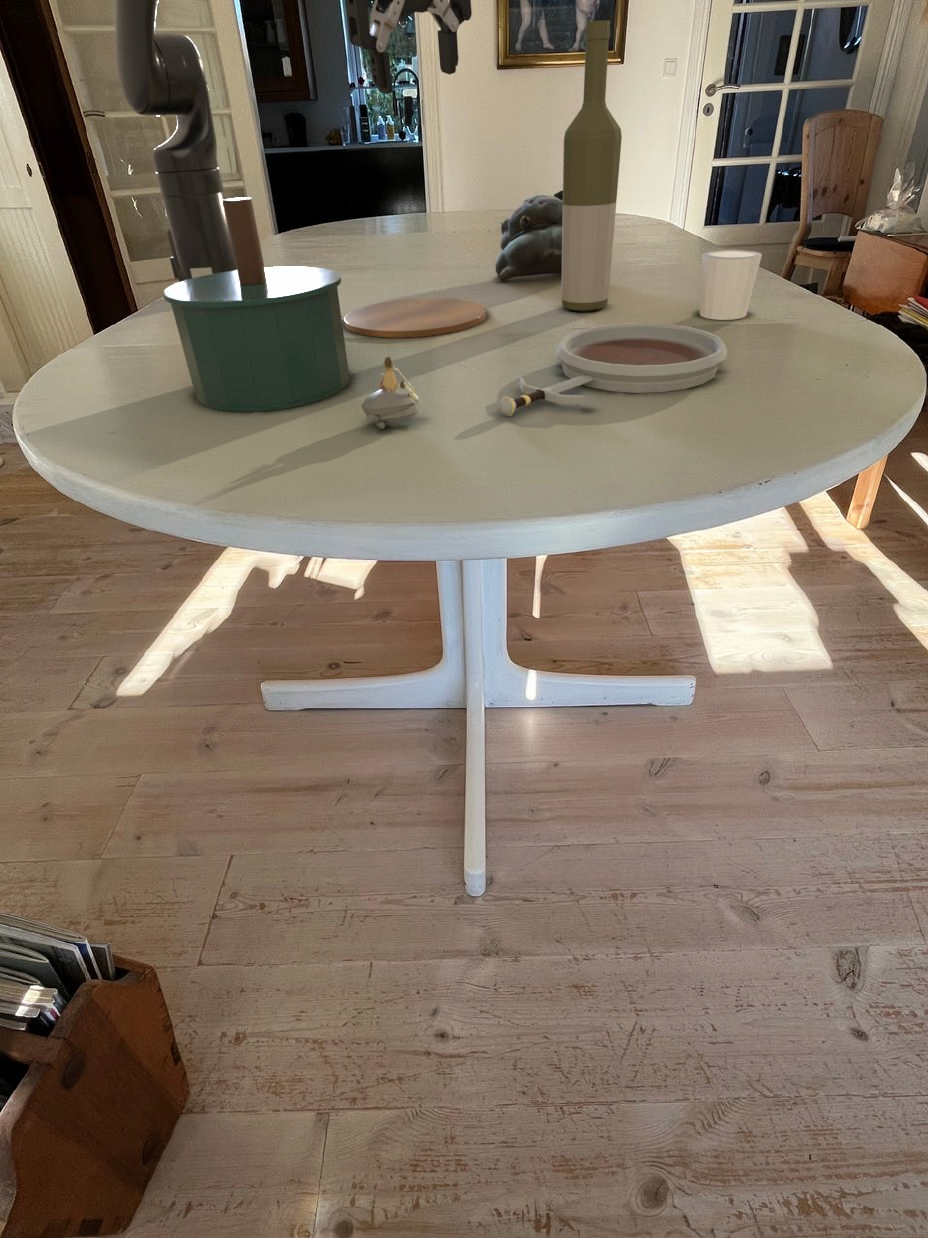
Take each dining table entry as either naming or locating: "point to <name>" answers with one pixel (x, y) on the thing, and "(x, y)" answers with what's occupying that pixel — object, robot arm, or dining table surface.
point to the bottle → (590, 184)
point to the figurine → (390, 400)
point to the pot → (265, 353)
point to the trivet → (415, 317)
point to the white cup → (727, 283)
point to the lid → (249, 272)
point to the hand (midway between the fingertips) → (417, 82)
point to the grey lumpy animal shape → (532, 238)
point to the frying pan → (629, 362)
